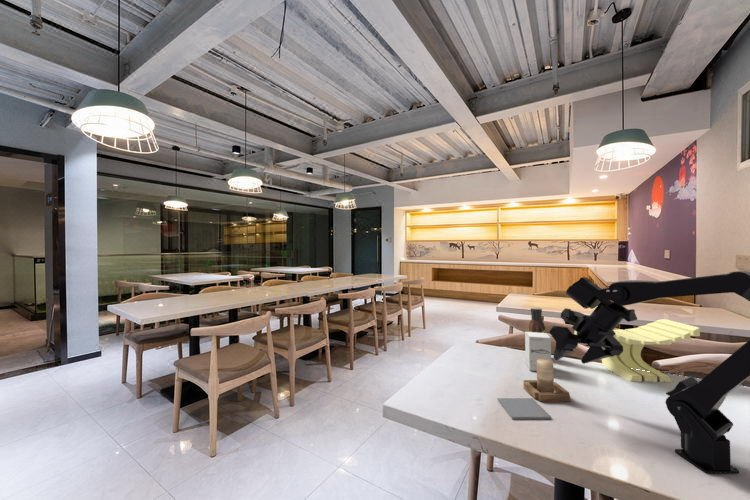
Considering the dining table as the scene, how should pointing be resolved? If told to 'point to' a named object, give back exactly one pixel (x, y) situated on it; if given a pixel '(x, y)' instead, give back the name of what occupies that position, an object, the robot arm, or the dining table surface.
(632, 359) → the slatted curved stool
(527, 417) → the slate pad
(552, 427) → the dining table surface
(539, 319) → the sauce bottle
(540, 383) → the oak peg
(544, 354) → the supplement box
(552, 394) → the walnut frame
